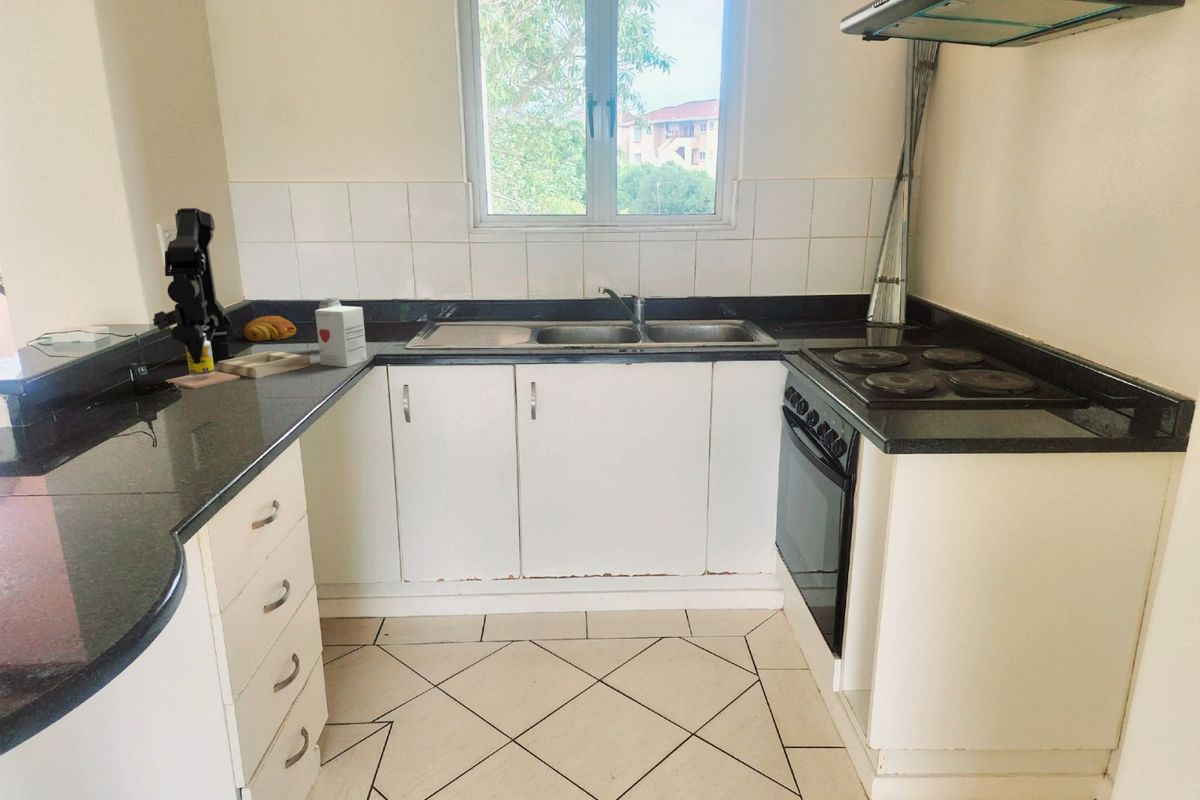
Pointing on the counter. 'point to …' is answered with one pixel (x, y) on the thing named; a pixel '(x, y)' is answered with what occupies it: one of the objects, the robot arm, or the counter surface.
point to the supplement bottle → (202, 362)
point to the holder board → (264, 364)
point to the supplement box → (341, 335)
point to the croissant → (269, 328)
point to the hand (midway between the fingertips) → (200, 361)
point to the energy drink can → (329, 303)
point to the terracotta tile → (203, 380)
